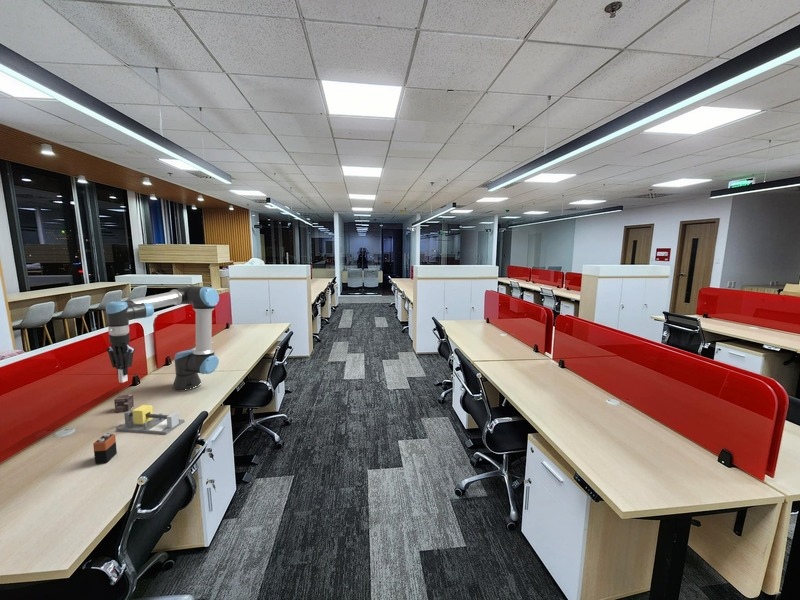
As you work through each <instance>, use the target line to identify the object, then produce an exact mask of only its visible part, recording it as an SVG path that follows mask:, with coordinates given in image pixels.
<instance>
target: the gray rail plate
mask: <svg viewBox="0 0 800 600" xmlns="http://www.w3.org/2000/svg"><path fill="white" fill-rule="evenodd" d="M133 410H134V409H130V410H129V411H127V412H123V413H124V416H123V417H124V424H123V425H120V426H119V427H116V431H117V432H124V433H126V432H127V433H139V434H140V433H141V434H152V435H153V434H154V435H164V436H165V435H166V436H167V435H168V434H169V433H171V432H172V431H174V430H175V429H177V428H178V427H179V426H181V425H182V424H184V423H185V419H179V413H178V412H172V413H170V414H163V413H153V414H145V415H146V417H147V418H153V419H152V420H150V421H148V422H147V423H143V424H134V422H133Z"/></svg>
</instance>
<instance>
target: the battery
mask: <svg viewBox="0 0 800 600" xmlns="http://www.w3.org/2000/svg"><path fill="white" fill-rule="evenodd" d="M92 445H93V453H94V463H95V465H97V464H107V463H109V462H110V461H111V460H112V459H113V458H114V457H115V456H116V455H117V453H118V451H117V439H116V434H115V433H112V434H111V433H110V432H106V433H104V434H103V435H102V436H100V437H99V438H98V439H97V440H95V442H94V443H93V444H92Z"/></svg>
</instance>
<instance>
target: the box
mask: <svg viewBox="0 0 800 600" xmlns="http://www.w3.org/2000/svg"><path fill="white" fill-rule="evenodd" d="M134 405H135V404H134V394H121V395H118V396H117V397H116V398H115V399H114V412H115V413H125V412H127V411H129V410H132V409H133V408H134ZM132 407H133V408H132ZM131 408H132V409H131Z"/></svg>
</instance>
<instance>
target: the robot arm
mask: <svg viewBox="0 0 800 600" xmlns="http://www.w3.org/2000/svg"><path fill="white" fill-rule="evenodd" d="M219 301H220V296H219V292H218V291H217V290H216V289H215V288H213V287H209V286H195V285H193V286H192V285H190V286H183V287H180V288H175V289H171V290H170V291H168V292H164V293H159V294H154V295H153V294H152V295H148V296H143V297H137V298H132V299H128V300H122V301H118V300H116V301H110V302H108V303H107V304H106V306H105V313H106V316H107V317H106V318H107V320H106V321H107V326H108V327H107V328H108V335H109V336H108V343H110V346H109V347H106V349H105V350H106V352H107V353H108V357H109V360H110V364H111V367H112V368H115V369H116V373H117V376H118V382H119V383H122V384H123V383H125V382H128V380H129V379H128V376H129V368H132V366H133V359H134V354H135V350H136V349H135V347H132V346H131V345H130V341H131V336H130V323H129V322H130V321H132V320H139V319H146V318H149V317H152V316H153V315H154V313H155V309H159V308H164V307H167V306H173V305H174V306H180V305H192V310H193V311H194V312H195V349H187V350H183V351H179V352H177V353H175V355H174V367H175V368H174V369H175V370H174V371H175V379H174V381H173V384H172V389H173V388H174V389H175V390H174V389H173V390H174V391H177V390H185V389H190V388H193V387H195V386H198V385H199V384H200V383H201V384H202V380H201V378H200V376H199V374H201V375H209V374H212V373H214V372H215V371H216V369H217V368H218V366H219V362H220V361H219V357H218V356H216V354H215V350H214V349H212V348H213V347H212V345H213V339H212V338H213V337H212V336H213V335H212V333H213V327H212V325H213V320H212V319H213V316H212V315H213V311H214V310H215V309H216V308H215V306H217V305H218V303H219ZM185 391H186V390H185Z"/></svg>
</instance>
